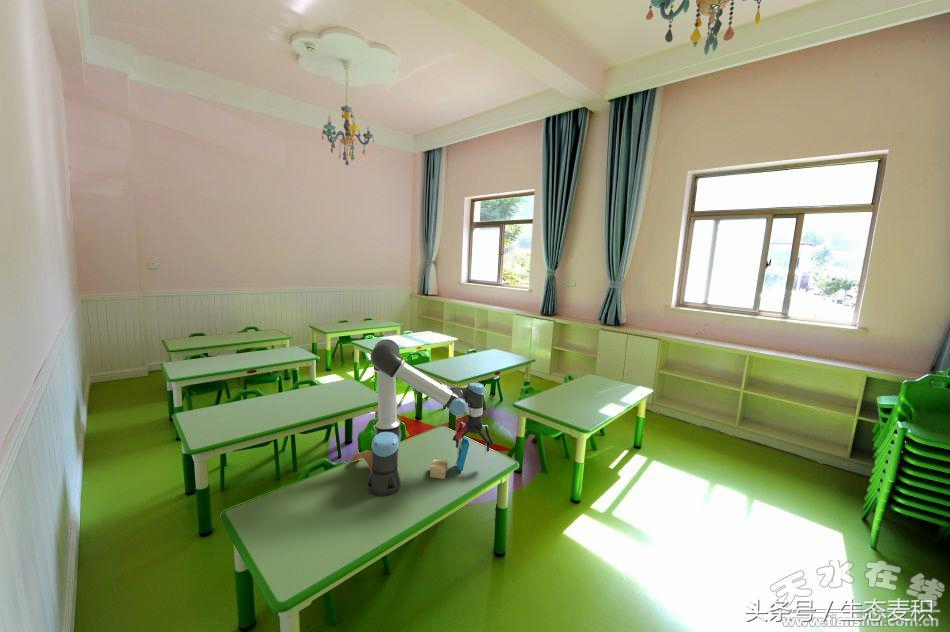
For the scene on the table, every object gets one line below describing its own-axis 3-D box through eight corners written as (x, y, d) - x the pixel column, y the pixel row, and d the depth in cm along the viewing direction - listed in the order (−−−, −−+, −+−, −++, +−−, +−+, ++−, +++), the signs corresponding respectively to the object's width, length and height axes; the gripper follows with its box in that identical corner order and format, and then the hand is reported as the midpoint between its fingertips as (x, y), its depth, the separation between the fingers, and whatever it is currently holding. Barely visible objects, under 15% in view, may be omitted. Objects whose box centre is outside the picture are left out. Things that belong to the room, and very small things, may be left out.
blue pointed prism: (447, 461, 195) (455, 428, 192) (460, 462, 196) (469, 430, 193) (448, 469, 188) (457, 435, 185) (462, 470, 190) (471, 437, 187)
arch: (372, 483, 180) (372, 463, 178) (350, 466, 193) (350, 447, 192) (382, 479, 184) (383, 459, 183) (361, 463, 198) (361, 444, 196)
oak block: (433, 472, 192) (433, 459, 191) (447, 474, 191) (447, 460, 190) (429, 480, 185) (430, 466, 184) (444, 481, 184) (444, 468, 183)
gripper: (448, 414, 188) (446, 456, 191) (499, 420, 185) (496, 462, 188) (451, 409, 196) (448, 449, 198) (500, 414, 193) (497, 455, 195)
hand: (472, 455), depth 193 cm, fingers open, 13 cm apart
